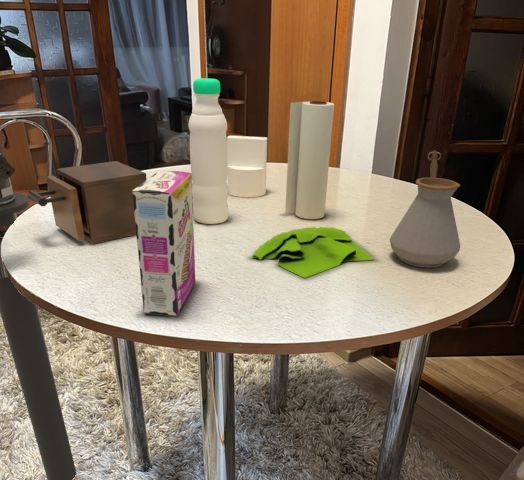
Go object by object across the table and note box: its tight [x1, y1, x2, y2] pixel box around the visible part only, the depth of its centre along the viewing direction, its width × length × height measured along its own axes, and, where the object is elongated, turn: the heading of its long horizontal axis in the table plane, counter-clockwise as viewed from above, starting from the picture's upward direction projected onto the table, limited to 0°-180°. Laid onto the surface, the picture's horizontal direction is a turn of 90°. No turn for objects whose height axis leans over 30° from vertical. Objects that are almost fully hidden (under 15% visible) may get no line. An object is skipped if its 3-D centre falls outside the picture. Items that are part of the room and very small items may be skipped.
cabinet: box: [55, 160, 148, 245], centre depth 93 cm, size 12×12×11 cm
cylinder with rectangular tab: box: [226, 135, 268, 198], centre depth 117 cm, size 9×9×12 cm
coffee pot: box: [389, 149, 461, 269], centre depth 87 cm, size 21×12×15 cm, turn 166°
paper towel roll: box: [284, 100, 335, 220], centre depth 101 cm, size 7×6×21 cm
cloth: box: [252, 226, 375, 279], centre depth 88 cm, size 20×22×2 cm
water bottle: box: [187, 77, 229, 225], centre depth 96 cm, size 7×7×25 cm
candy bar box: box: [132, 170, 196, 317], centre depth 68 cm, size 11×5×16 cm, turn 174°
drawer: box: [26, 175, 90, 242], centre depth 91 cm, size 15×10×9 cm
